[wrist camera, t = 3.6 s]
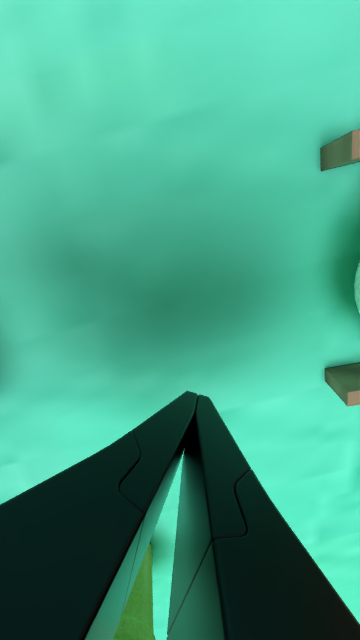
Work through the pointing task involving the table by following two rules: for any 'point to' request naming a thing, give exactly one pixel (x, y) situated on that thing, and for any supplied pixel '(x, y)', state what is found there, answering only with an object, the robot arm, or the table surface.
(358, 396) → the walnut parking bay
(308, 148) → the table surface
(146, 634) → the plant pot
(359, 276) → the lidded jar
